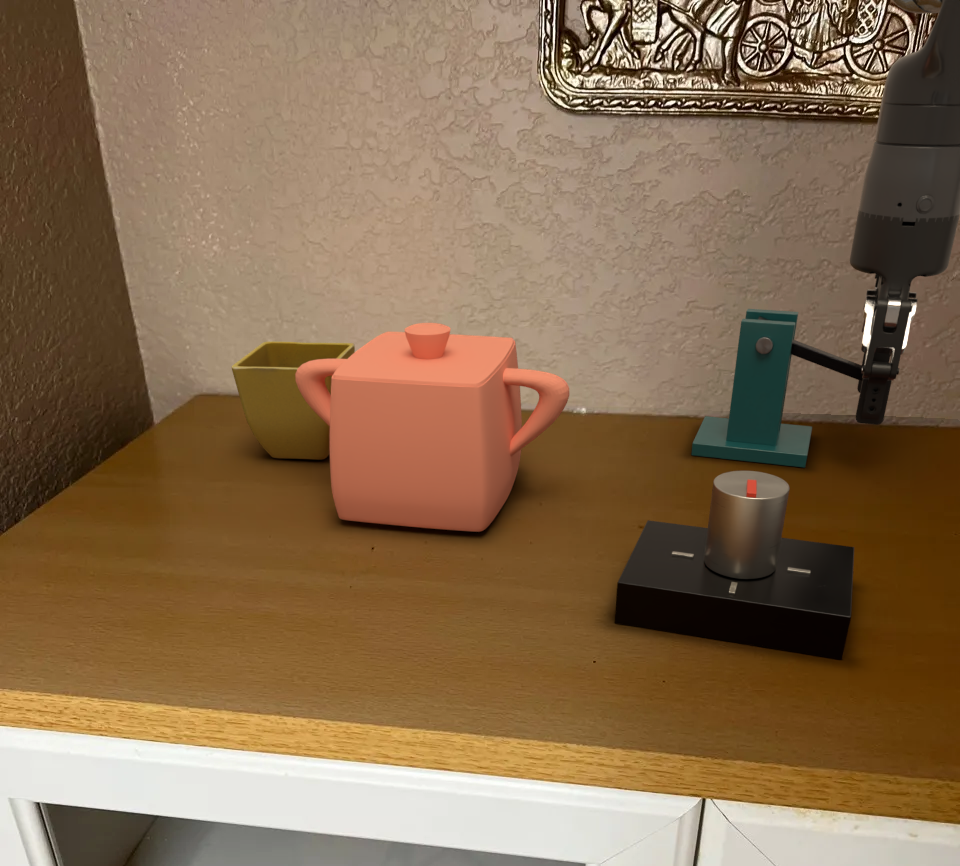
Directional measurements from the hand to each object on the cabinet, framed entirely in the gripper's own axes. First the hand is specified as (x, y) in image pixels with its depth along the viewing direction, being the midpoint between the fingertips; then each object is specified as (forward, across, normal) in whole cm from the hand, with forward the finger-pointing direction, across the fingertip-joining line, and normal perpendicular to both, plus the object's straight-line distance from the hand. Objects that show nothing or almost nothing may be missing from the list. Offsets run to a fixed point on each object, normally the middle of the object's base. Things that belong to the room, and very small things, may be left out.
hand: (868, 407), depth 86 cm
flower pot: (+5, +14, -48) cm, 51 cm away
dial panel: (+5, +31, -7) cm, 32 cm away
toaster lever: (-3, 0, -5) cm, 6 cm away
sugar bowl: (+5, +18, -33) cm, 38 cm away
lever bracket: (+5, 0, -9) cm, 11 cm away
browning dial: (+2, +31, -7) cm, 32 cm away
